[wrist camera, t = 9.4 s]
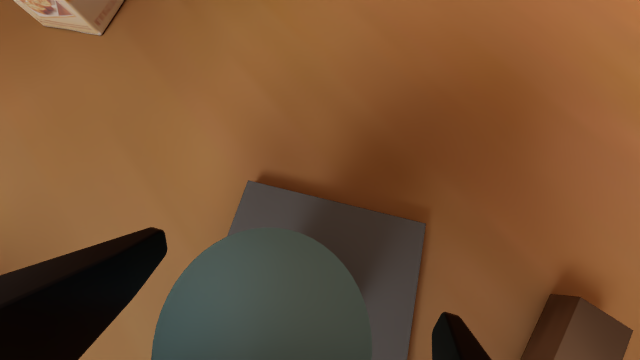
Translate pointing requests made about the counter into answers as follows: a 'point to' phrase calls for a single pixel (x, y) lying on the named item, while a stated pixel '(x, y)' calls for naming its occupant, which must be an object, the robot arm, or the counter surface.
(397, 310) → the mat
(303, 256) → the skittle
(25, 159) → the counter surface
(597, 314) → the bar
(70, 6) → the coffeecake box
